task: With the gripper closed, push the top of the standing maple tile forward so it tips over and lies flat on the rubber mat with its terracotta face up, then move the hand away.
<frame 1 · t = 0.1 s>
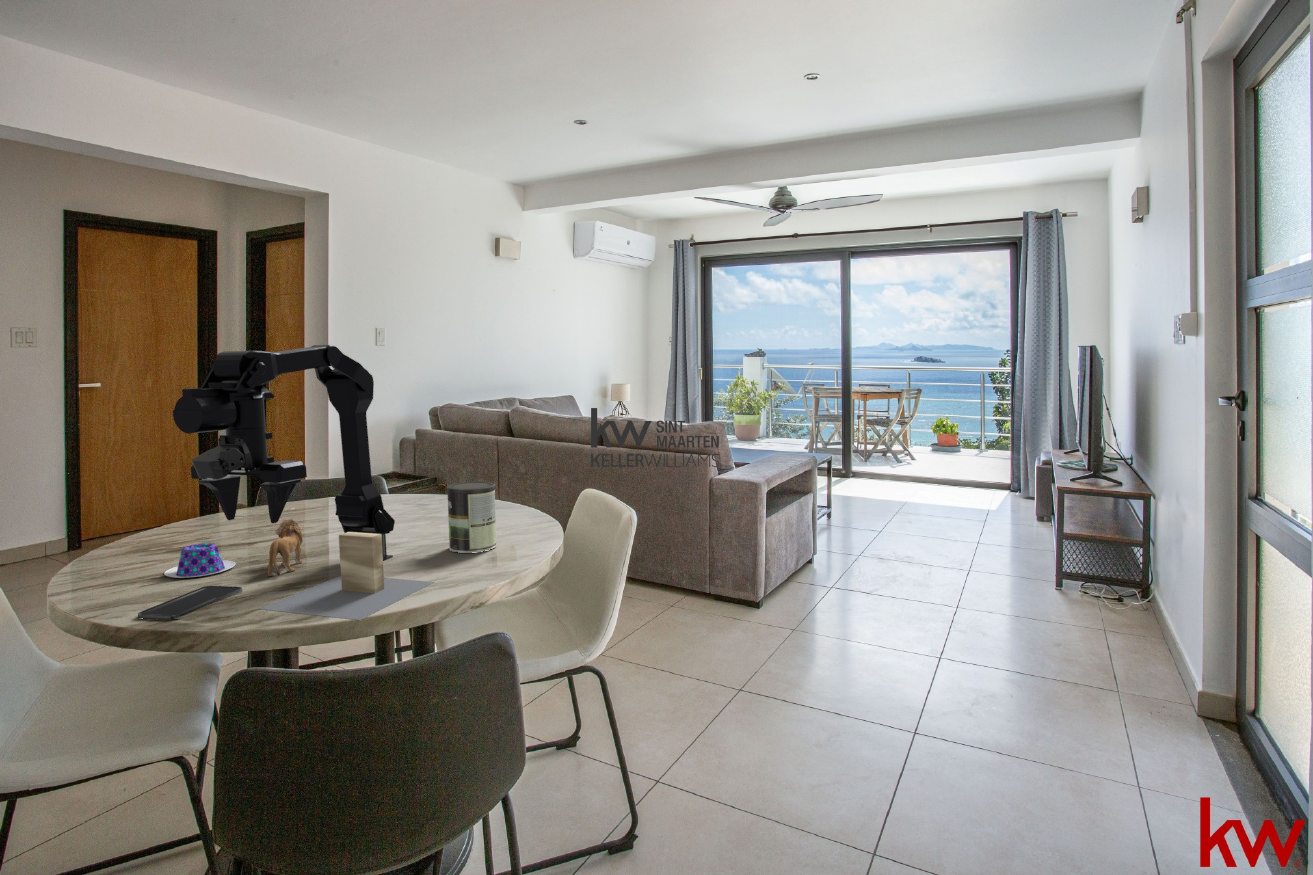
hand: (252, 521, 117), 15 cm above the table, tool pointing down, fingers open, 9 cm apart
purple patterned hat: (201, 573, 140), on the table
maple tile: (363, 589, 125), resting on rubber mat
phone: (193, 607, 120), on the table
rubber mat: (351, 596, 123), on the table
lion figurine: (285, 568, 141), on the table
coffee can: (473, 548, 155), on the table
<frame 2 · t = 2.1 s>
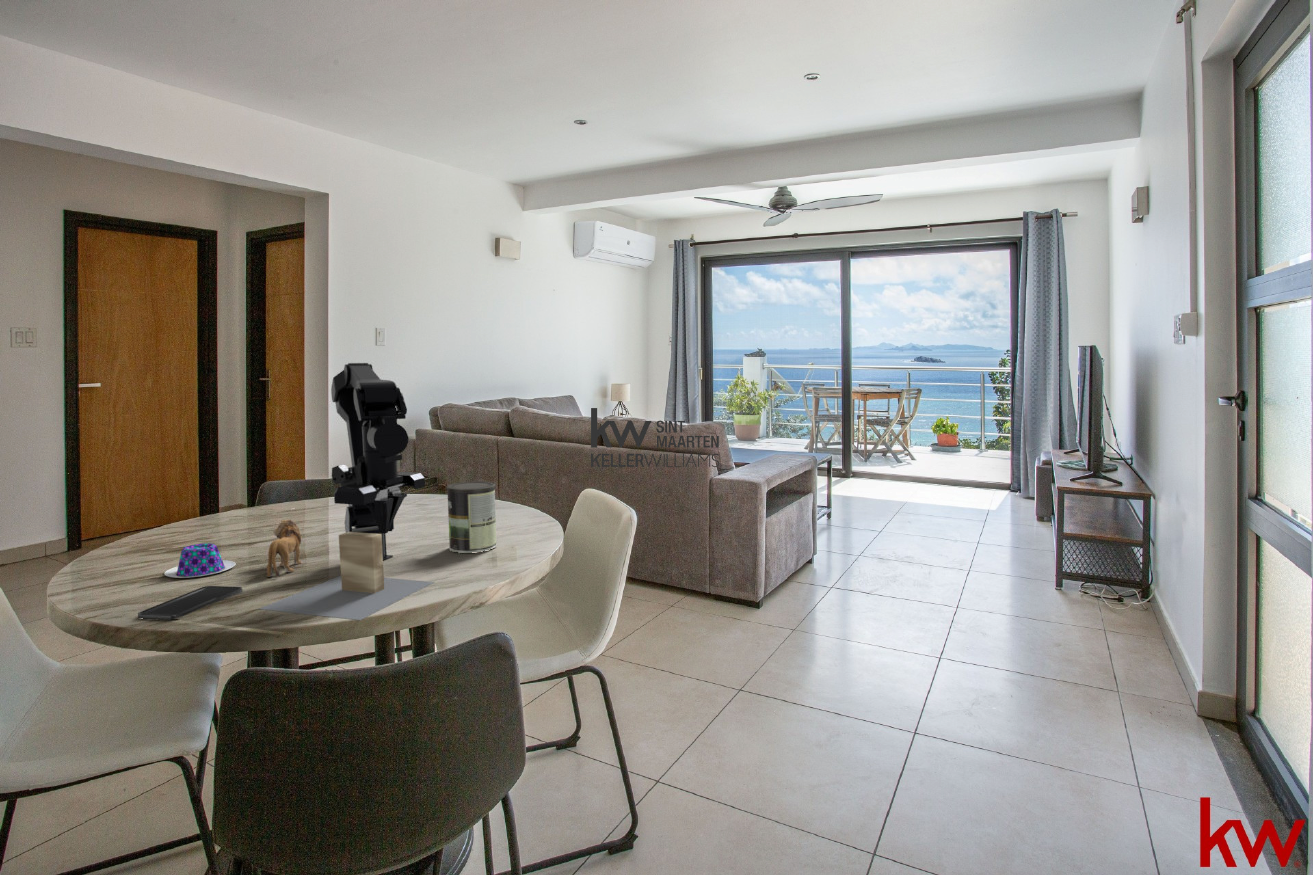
hand: (384, 533, 131), 9 cm above the table, tool pointing down, fingers closed
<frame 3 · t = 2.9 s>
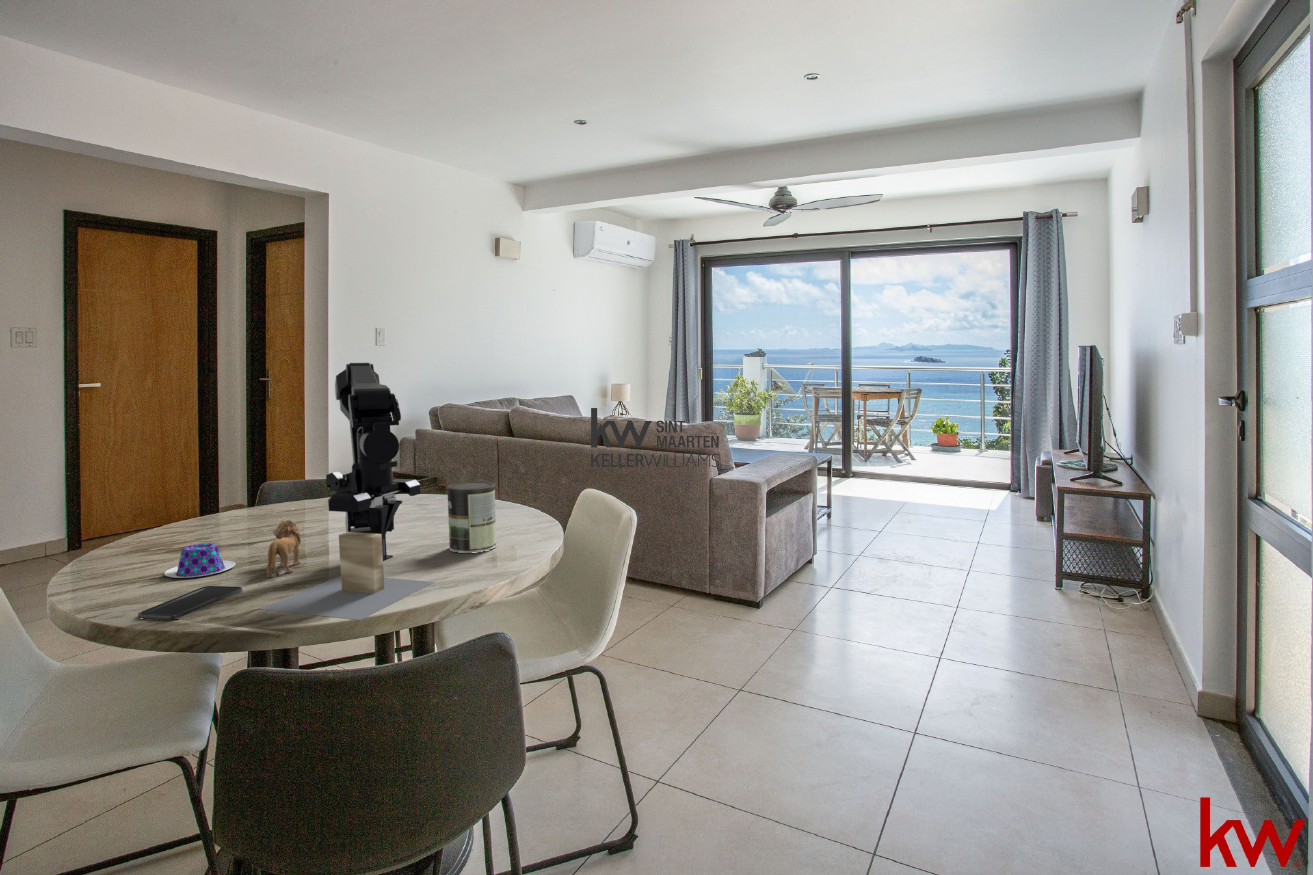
hand: (379, 540, 129), 8 cm above the table, tool pointing down, fingers closed
nothing on the table moved.
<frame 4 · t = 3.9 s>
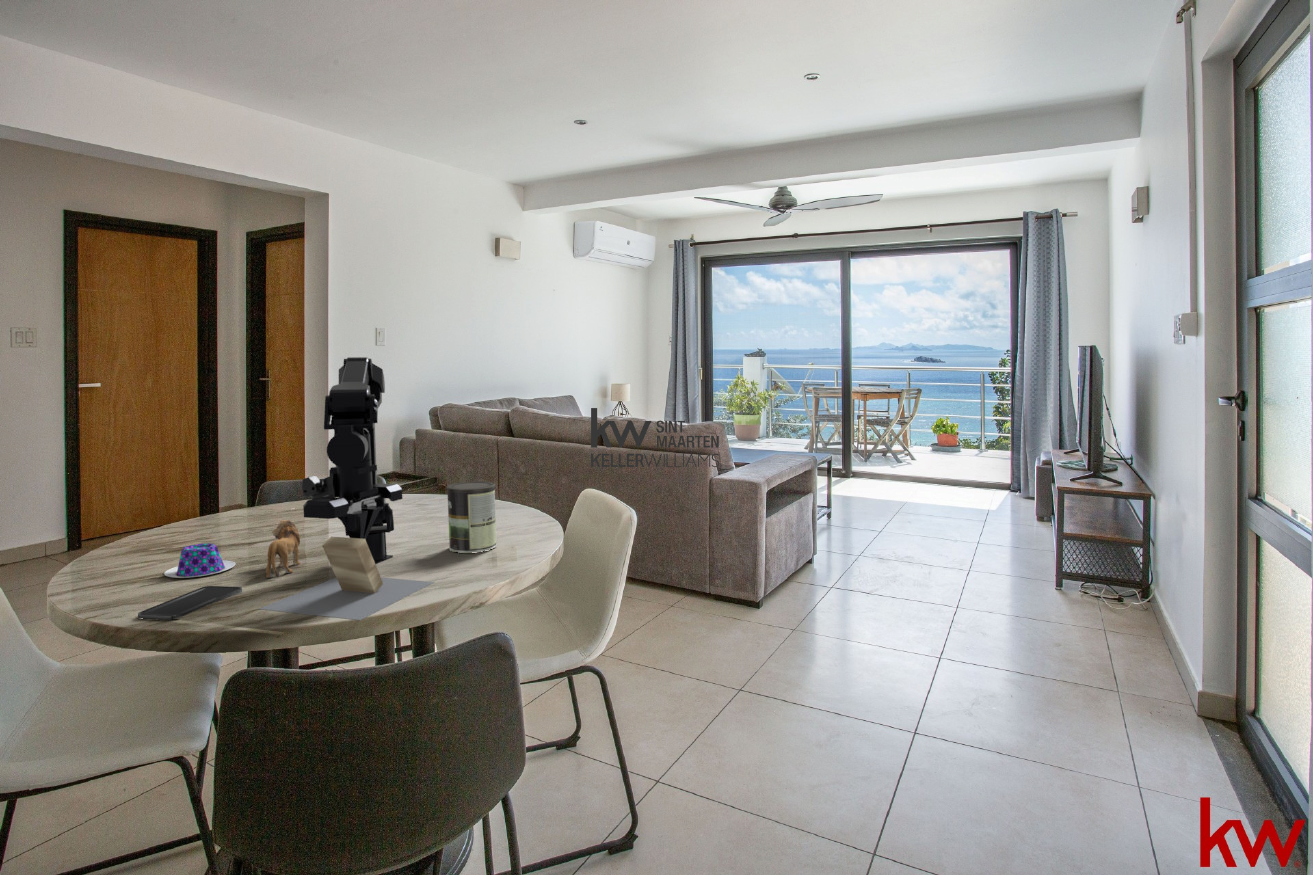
hand: (358, 548, 124), 8 cm above the table, tool pointing down, fingers closed
maple tile: (362, 586, 125), point 1 cm above the table, tilted 24°, touching rubber mat
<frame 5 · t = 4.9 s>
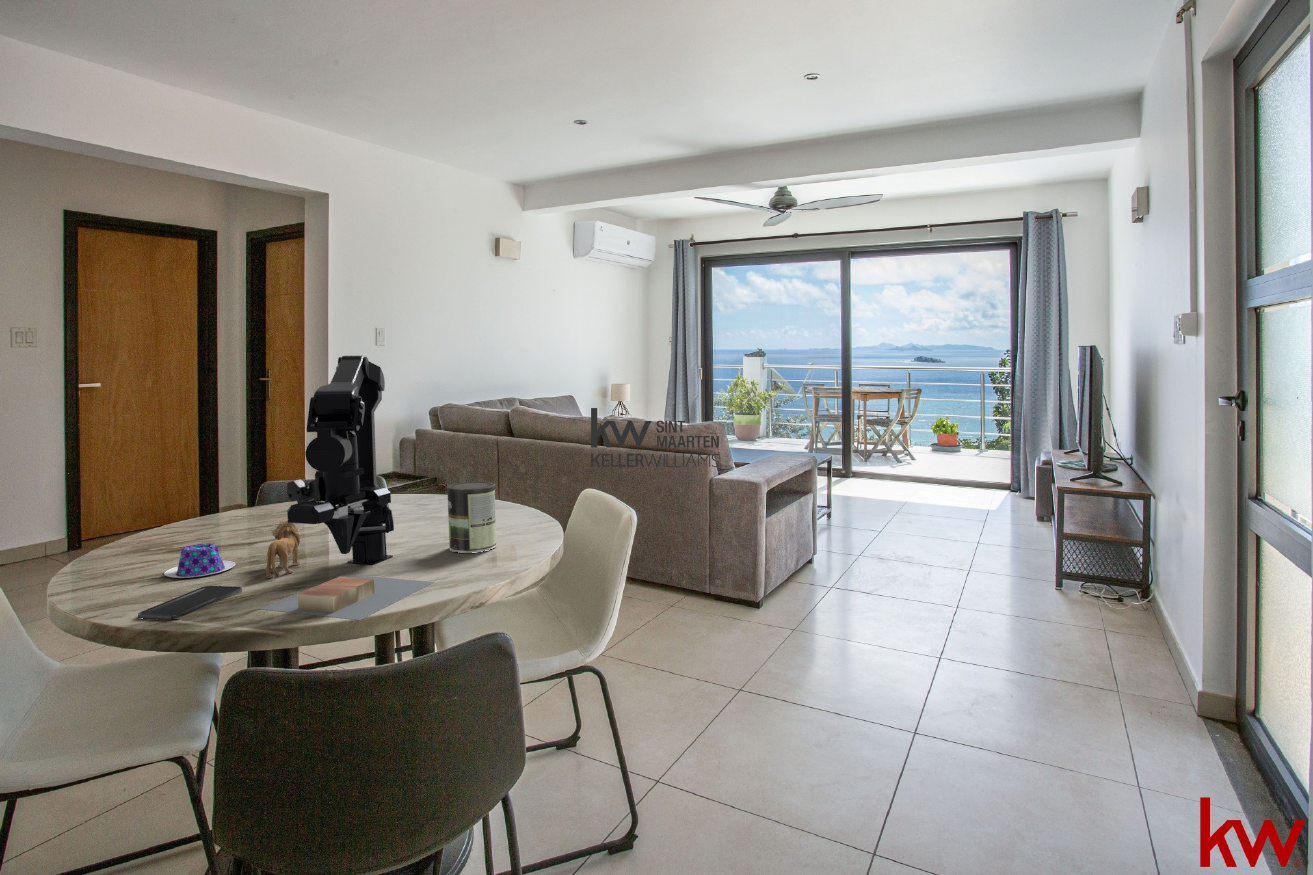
hand: (345, 553, 121), 8 cm above the table, tool pointing down, fingers closed
maple tile: (357, 584, 124), point 2 cm above the table, tilted 90°, touching rubber mat
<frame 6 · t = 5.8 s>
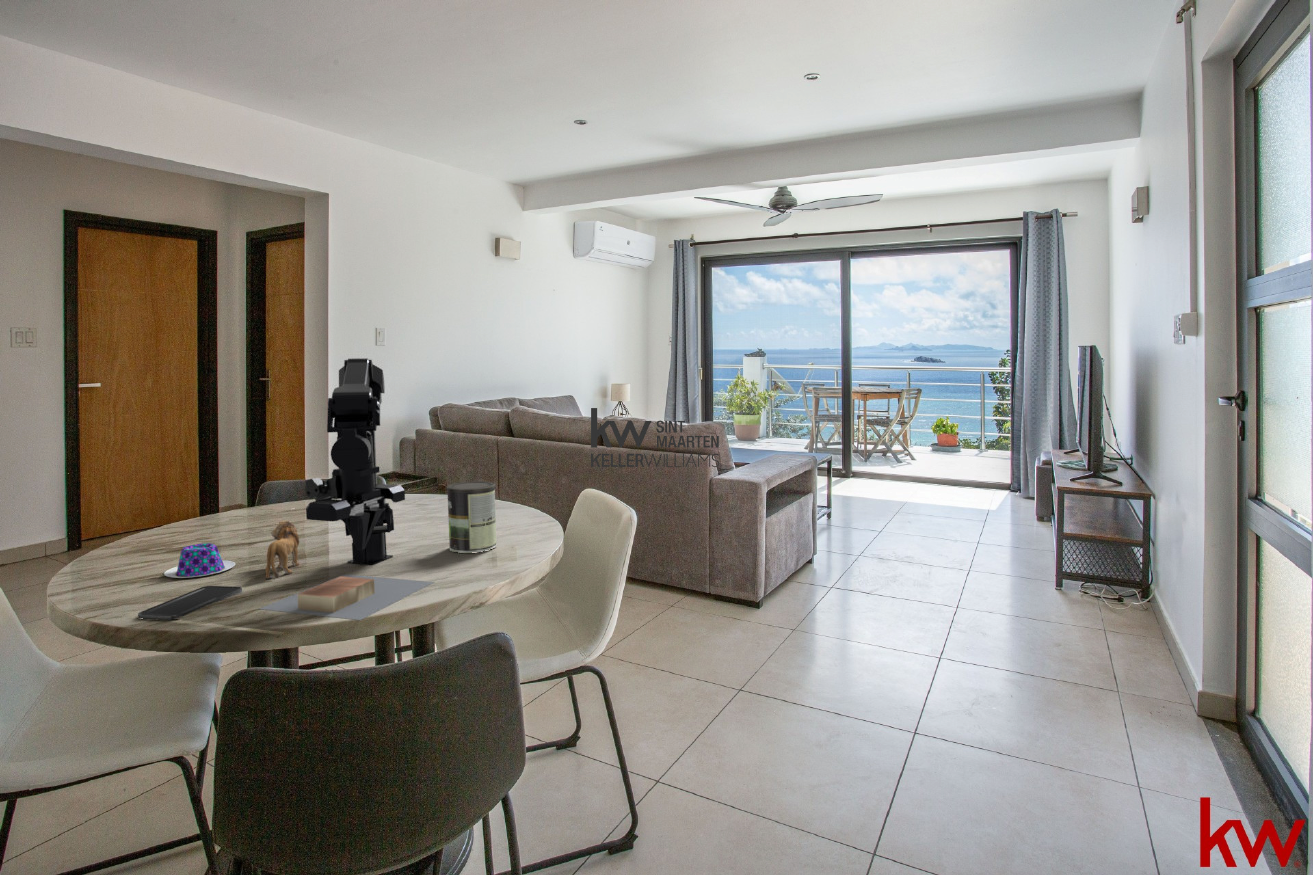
hand: (361, 549, 125), 8 cm above the table, tool pointing down, fingers closed
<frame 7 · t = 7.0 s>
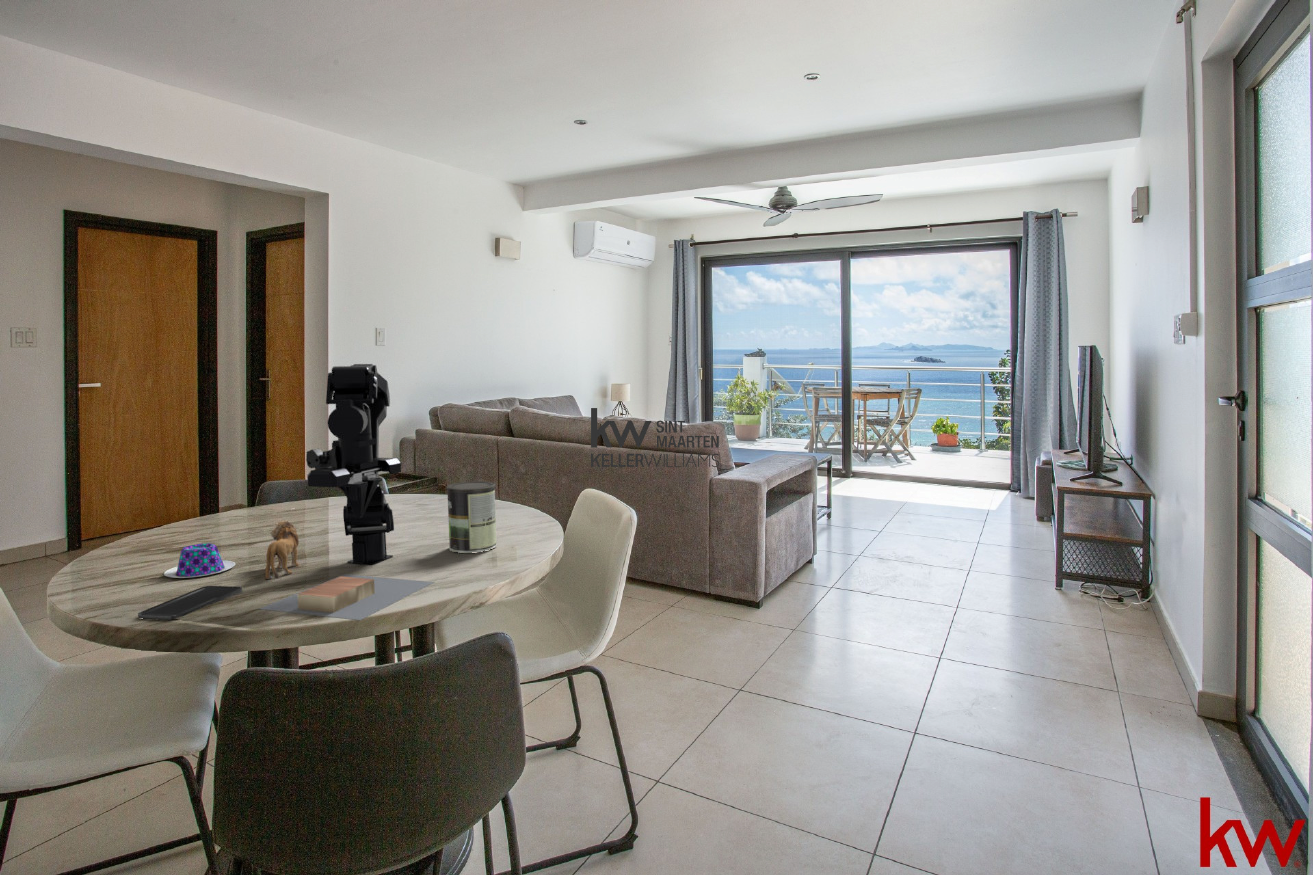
hand: (359, 517, 131), 12 cm above the table, tool pointing down, fingers closed
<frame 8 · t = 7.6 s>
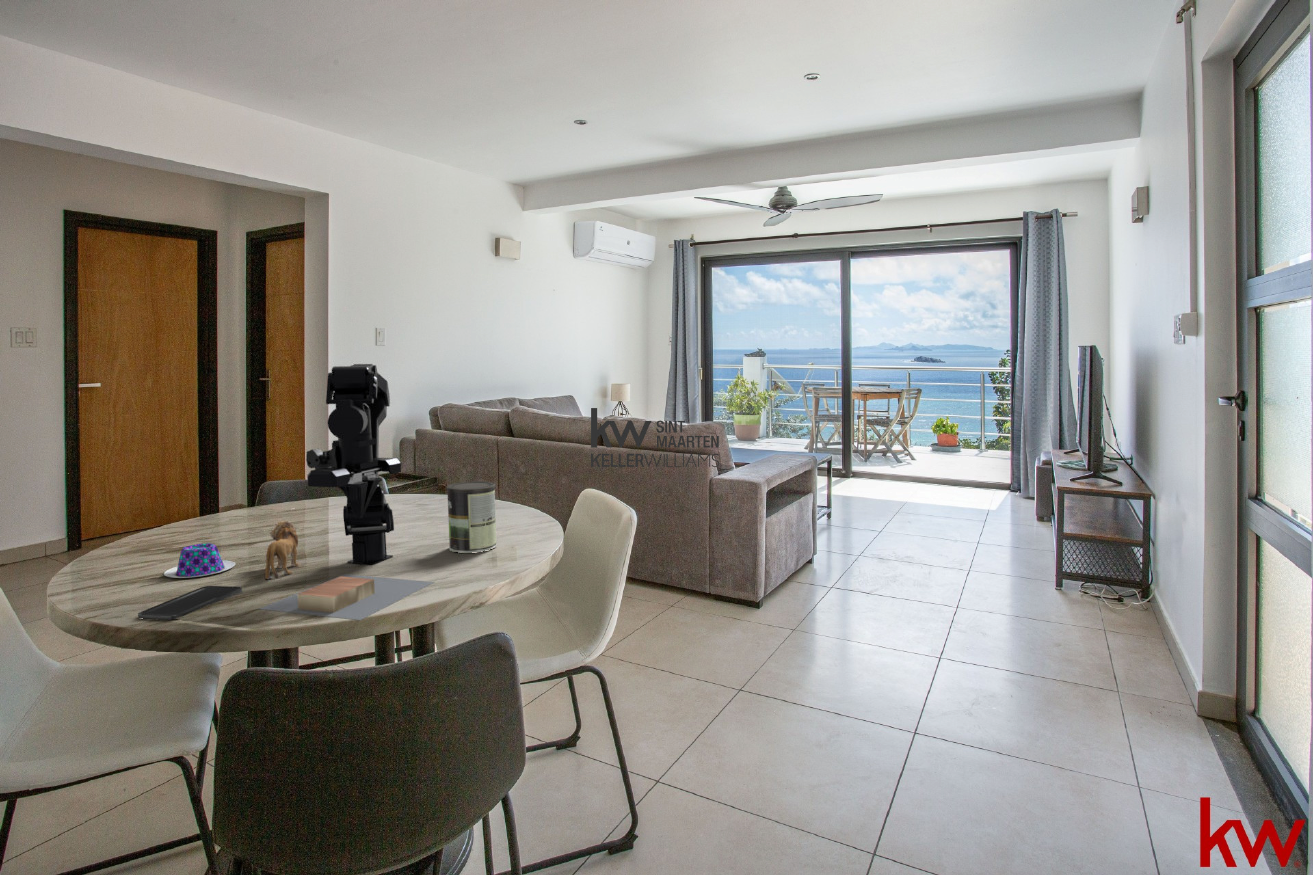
hand: (359, 517, 131), 12 cm above the table, tool pointing down, fingers closed
at the end: maple tile tilted 90°; maple tile inside the target area (3.2 cm from its centre), point 1.6 cm above the table; the gripper is holding nothing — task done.
